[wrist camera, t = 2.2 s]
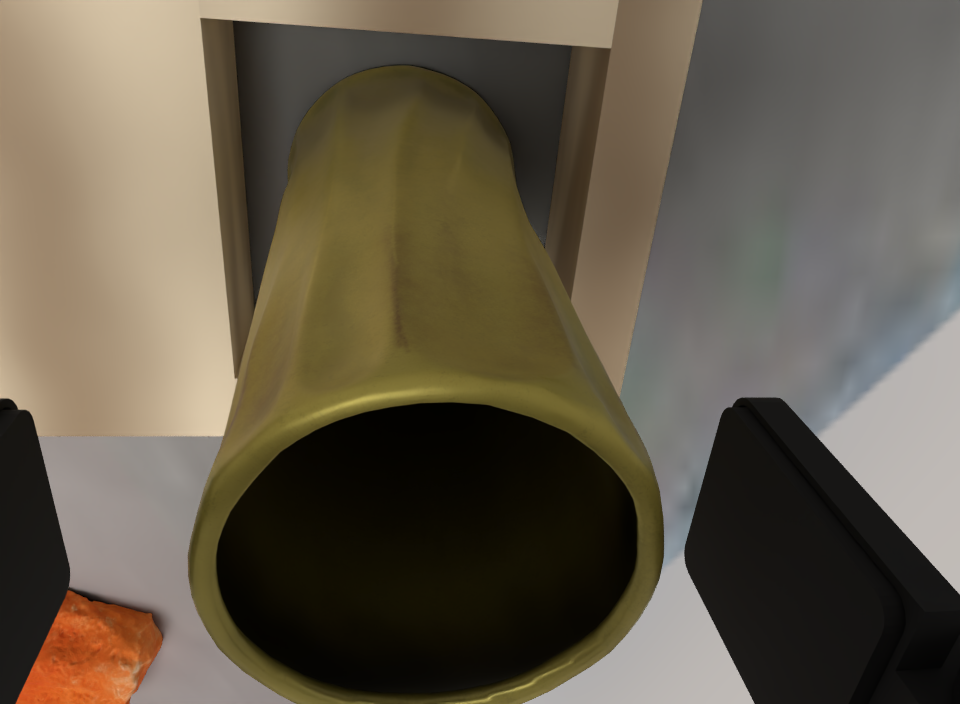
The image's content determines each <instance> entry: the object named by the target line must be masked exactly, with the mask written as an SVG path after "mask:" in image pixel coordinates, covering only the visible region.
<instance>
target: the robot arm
mask: <svg viewBox="0 0 960 704" xmlns="http://www.w3.org/2000/svg"><path fill="white" fill-rule="evenodd" d="M684 556H685V564H686V567H687V570H688V573H689V575H690V577H691V579H692V581H693V583H694V585H695V586H696V589H697V590H698V593H699V594H700V597H701V598H702V600H703V602H704V604H705V606H706V608H707V610H708V612H709V614H710V616H711V618H712V620H713V622H714V624H715V626H716V628H717V630H718V632H719V634H720V636H721V638H722V640H723V642H724V644H725V646H726V648H727V650H728V652H729V654H730V656H731V658H732V660H733V661H734V664H735V666H736V668H737V670H738V672H739V674H740V676H741V677H742V680H743V681H744V683H745V685H746V687H747V689H748V691H749V693H750V695H751V697H752V699H753V701H754V703H755V704H960V594H959V593H958V592H957V591H956V590H955V589H954V588H953V587H952V586H951V585H950V583H949V582H948V581H947V580H946V579H945V578H944V577H943V576H942V575H941V573H940V572H939V571H938V570H937V569H936V568H935V567H934V566H933V565H932V564H931V563H930V561H929V560H928V559H927V558H926V557H925V556H924V555H923V554H922V553H921V551H920V550H919V549H918V548H917V547H916V546H915V545H914V544H913V543H912V541H911V540H910V539H909V538H908V537H907V536H906V535H905V534H904V533H903V532H902V530H901V529H900V528H899V527H898V526H897V525H896V524H895V523H894V522H893V521H892V519H891V518H890V517H889V516H888V515H887V514H886V513H885V512H884V511H883V510H882V509H881V507H880V506H879V505H878V504H877V503H876V502H875V501H874V500H873V498H872V497H871V496H870V495H869V494H868V493H867V492H866V491H865V490H864V489H863V487H861V485H860V484H859V483H858V482H857V481H856V480H855V479H854V478H853V476H852V475H851V474H850V473H849V472H848V471H847V470H846V469H845V468H844V466H843V465H842V464H841V463H840V462H839V461H838V460H837V459H836V458H835V457H834V456H833V455H832V453H831V452H830V451H829V450H828V449H827V448H826V447H825V446H824V444H823V443H822V442H821V441H820V440H819V439H818V438H817V437H816V436H815V434H814V433H813V432H812V431H811V430H810V429H809V428H808V427H807V426H806V425H805V423H804V422H803V421H802V420H801V419H800V418H799V417H798V416H797V415H796V414H795V412H794V411H793V410H792V409H791V408H790V407H789V406H788V405H787V404H786V403H785V402H784V401H783V400H782V399H780V398H740V399H737V400H736V402H735V403H734V404H733V407H729V408H726V409H725V410H724V411H723V413H722V415H721V418H720V422H719V425H718V429H717V433H716V436H715V440H714V443H713V447H712V451H711V454H710V458H709V461H708V465H707V469H706V472H705V476H704V479H703V483H702V487H701V490H700V494H699V497H698V501H697V505H696V508H695V512H694V515H693V519H692V523H691V526H690V530H689V533H688V537H687V541H686V544H685V552H684ZM69 581H70V567H69V562H68V558H67V554H66V550H65V546H64V542H63V538H62V533H61V529H60V525H59V521H58V517H57V513H56V509H55V505H54V501H53V497H52V493H51V489H50V484H49V480H48V476H47V472H46V468H45V464H44V460H43V456H42V452H41V448H40V444H39V440H38V435H37V431H36V427H35V423H34V420H33V417H32V415H31V413H30V412H29V411H27V410H18V407H17V405H16V404H15V403H14V401H13V400H11V399H9V398H0V704H16V702H17V700H18V697H19V695H20V693H21V691H22V689H23V687H24V685H25V682H26V680H27V678H28V676H29V674H30V672H31V670H32V667H33V665H34V663H35V661H36V659H37V657H38V655H39V652H40V650H41V648H42V646H43V644H44V642H45V640H46V637H47V635H48V633H49V631H50V629H51V627H52V625H53V623H54V620H55V618H56V616H57V614H58V612H59V610H60V608H61V605H62V603H63V601H64V599H65V597H66V594H67V591H68V587H69Z"/></svg>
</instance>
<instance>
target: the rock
mask: <svg viewBox="0 0 960 704" xmlns="http://www.w3.org/2000/svg"><path fill="white" fill-rule="evenodd" d="M162 638H163V637H162V635H161V632H160V631H159V629H158V627H157V626H156V625H155V624H154V622H153V619H152V614H151V613H144V612H139V611H135V610H133V609H128V608H124V607H120V606H118V605H115V604H105V603H103V602H96V601H93V602H90V601H88V599H87V598H86V597H83V596H80V595H79V594H76V593H74V592H72V591H69V590H68V591H67V594H66V597H65V599H64V601H63V603H62V605H61V608H60V610H59V612H58V614H57V616H56V618H55V620H54V623H53V625H52V627H51V629H50V631H49V633H48V635H47V637H46V640H45V642H44V644H43V646H42V648H41V650H40V652H39V655H38V657H37V659H36V661H35V663H34V665H33V667H32V670H31V672H30V674H29V676H28V678H27V680H26V682H25V685H24V687H23V689H22V691H21V693H20V695H19V697H18V700H17V702H16V704H130V698H131V695H132V694H133V693H135V692H136V691H137V690H138V687H139V685H140V684H141V682H142V680H143V678H144V676H145V674H146V671H147V669H148V668H149V667H150V665H151V663H152V662H153V660H154V658H155V657H156V655H157V653H158V651H159V650H160V648H161V645H162V641H163V639H162Z"/></svg>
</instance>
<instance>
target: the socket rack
mask: <svg viewBox="0 0 960 704" xmlns="http://www.w3.org/2000/svg"><path fill="white" fill-rule="evenodd" d="M702 2H703V0H0V398H9V399H11V400H13V401H14V403H15V404H16V405H17V407H18V410H27V411H29V412H30V413H31V415H32V417H33V420H34V423H35V427H36V431H37V435H38V436H224V432H225V429H226V425H227V421H228V417H229V413H230V409H231V404H232V400H233V396H234V392H235V388H236V383H237V379H238V375H239V371H240V367H241V363H242V359H243V355H244V351H245V347H246V343H247V339H248V335H249V331H250V327H251V323H252V319H253V315H254V311H255V308H254V295H253V282H252V268H251V255H250V242H249V229H248V216H247V203H246V189H245V176H244V163H243V150H242V137H241V123H240V110H239V97H238V84H237V71H236V57H235V44H234V31H233V20H237V21H250V22H264V23H277V24H291V25H304V26H317V27H331V28H344V29H358V30H371V31H384V32H398V33H411V34H425V35H438V36H452V37H465V38H478V39H492V40H505V41H519V42H532V43H545V44H559V45H572V51H571V59H570V66H569V73H568V81H567V88H566V96H565V103H564V111H563V118H562V125H561V133H560V140H559V148H558V155H557V163H556V170H555V177H554V185H553V192H552V200H551V207H550V215H549V222H548V229H547V237H546V244H545V250H546V252H547V254H548V256H549V257H550V259H551V261H552V263H553V265H554V267H555V269H556V271H557V273H558V275H559V277H560V279H561V282H562V284H563V286H564V288H565V290H566V292H567V294H568V296H569V298H570V300H571V303H572V305H573V307H574V309H575V311H576V313H577V315H578V317H579V319H580V322H581V324H582V326H583V328H584V330H585V332H586V334H587V336H588V338H589V340H590V342H591V344H592V345H593V347H594V349H595V351H596V353H597V355H598V357H599V359H600V361H601V363H602V364H603V366H604V368H605V370H606V372H607V374H608V376H609V378H610V380H611V382H612V384H613V386H614V388H615V390H616V392H617V394H618V396H619V397H620V392H621V387H622V383H623V378H624V373H625V368H626V364H627V359H628V354H629V349H630V345H631V340H632V335H633V330H634V326H635V321H636V316H637V311H638V307H639V302H640V297H641V292H642V287H643V283H644V278H645V273H646V268H647V264H648V259H649V254H650V249H651V245H652V240H653V235H654V230H655V226H656V221H657V216H658V211H659V207H660V202H661V197H662V192H663V188H664V183H665V178H666V173H667V169H668V164H669V159H670V154H671V149H672V145H673V140H674V135H675V130H676V126H677V121H678V116H679V111H680V107H681V102H682V97H683V92H684V88H685V83H686V78H687V73H688V69H689V64H690V59H691V54H692V50H693V45H694V40H695V35H696V31H697V26H698V21H699V16H700V11H701V7H702Z"/></svg>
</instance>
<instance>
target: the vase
mask: <svg viewBox="0 0 960 704" xmlns="http://www.w3.org/2000/svg"><path fill="white" fill-rule="evenodd" d="M287 171H288V184H287V187H286V189H285V192H284V194H283V198H282V201H281V205H280V209H279V214H278V220H277V224H276V229H275V233H274V237H273V240H272V244H271V248H270V251H269V255H268V259H267V263H266V266H265V270H264V274H263V278H262V282H261V286H260V291H259V295H258V299H257V303H256V307H255V311H254V315H253V319H252V323H251V327H250V331H249V335H248V339H247V343H246V347H245V351H244V355H243V359H242V363H241V367H240V371H239V375H238V379H237V383H236V388H235V392H234V396H233V400H232V404H231V409H230V413H229V417H228V421H227V425H226V429H225V432H224V436H223V440H222V444H221V447H220V450H219V452H218V454H217V457H216V459H215V461H214V464H213V467H212V469H211V472H210V474H209V477H208V480H207V482H206V485H205V487H204V491H203V494H202V498H201V501H200V505H199V509H198V512H197V516H196V520H195V524H194V528H193V532H192V536H191V540H190V546H189V552H188V577H189V583H190V589H191V596H192V598H193V601H194V604H195V607H196V610H197V612H198V614H199V616H200V618H201V620H202V622H203V624H204V626H205V628H206V630H207V631H208V633H209V634H210V636H211V637H212V639H213V641H214V642H215V644H216V645H217V647H218V648H219V649H220V650H221V651H222V652H223V653H224V654H225V655H226V656H227V657H228V658H229V659H230V660H231V661H232V662H233V663H234V664H236V665H237V666H238V667H239V668H240V669H241V670H242V671H244V672H245V673H246V674H248V675H249V676H251V677H252V678H254V679H255V680H257V681H258V682H260V683H262V684H263V685H265V686H266V687H268V688H269V689H271V690H272V691H274V692H275V693H277V694H279V695H281V696H283V697H284V698H286V699H288V700H290V701H292V702H294V703H296V704H522V703H525V702H527V701H529V700H532V699H534V698H536V697H538V696H540V695H542V694H544V693H547V692H549V691H551V690H553V689H554V688H556V687H557V686H559V685H561V684H563V683H564V682H566V681H568V680H569V679H571V678H572V677H574V676H576V675H578V674H579V673H581V672H582V671H584V670H586V669H587V668H589V667H591V666H592V665H593V664H595V663H596V662H598V661H599V660H600V659H602V658H603V657H604V656H606V655H607V654H608V653H610V652H611V651H612V650H613V649H614V648H615V647H616V645H618V643H619V642H620V641H621V640H622V639H623V638H624V637H625V636H626V635H627V634H628V632H629V631H630V630H631V628H632V627H633V626H634V625H635V623H636V622H637V621H638V619H639V618H640V617H641V615H642V613H643V611H644V610H645V608H646V607H647V605H648V603H649V601H650V600H651V598H652V595H653V593H654V591H655V588H656V586H657V584H658V581H659V579H660V574H661V569H662V564H663V558H664V524H663V512H662V505H661V497H660V490H659V486H658V483H657V480H656V476H655V473H654V470H653V466H652V463H651V460H650V457H649V455H648V453H647V450H646V448H645V446H644V444H643V442H642V440H641V438H640V436H639V434H638V432H637V430H636V429H635V427H634V425H633V423H632V422H631V420H630V418H629V416H628V414H627V412H626V410H625V408H624V406H623V404H622V402H621V400H620V398H619V396H618V394H617V392H616V390H615V388H614V386H613V384H612V382H611V380H610V378H609V376H608V374H607V372H606V370H605V368H604V366H603V364H602V363H601V361H600V359H599V357H598V355H597V353H596V351H595V349H594V347H593V345H592V344H591V342H590V340H589V338H588V336H587V334H586V332H585V330H584V328H583V326H582V324H581V322H580V319H579V317H578V315H577V313H576V311H575V309H574V307H573V305H572V303H571V300H570V298H569V296H568V294H567V292H566V290H565V288H564V286H563V284H562V282H561V279H560V277H559V275H558V273H557V271H556V269H555V267H554V265H553V263H552V261H551V259H550V257H549V256H548V254H547V252H546V250H545V248H544V247H543V245H542V243H541V241H540V240H539V238H538V236H537V235H536V233H535V231H534V230H533V228H532V226H531V224H530V223H529V221H528V218H527V215H526V213H525V210H524V208H523V205H522V202H521V199H520V196H519V192H518V189H517V186H516V178H515V168H514V161H513V154H512V149H511V144H510V142H509V139H508V137H507V135H506V133H505V131H504V129H503V127H502V125H501V123H500V122H499V120H498V119H497V117H496V116H495V114H494V113H493V111H492V110H491V109H490V107H489V106H488V105H487V104H486V103H485V101H484V100H483V99H482V98H481V97H480V96H479V95H478V94H477V93H476V92H474V91H473V90H471V89H470V88H469V87H467V86H466V85H464V84H462V83H460V82H459V81H457V80H455V79H453V78H451V77H448V76H446V75H444V74H441V73H438V72H434V71H431V70H427V69H424V68H420V67H415V66H409V65H395V66H385V67H379V68H374V69H369V70H366V71H362V72H359V73H356V74H354V75H351V76H349V77H347V78H345V79H343V80H341V81H340V82H338V83H337V84H335V85H334V86H332V87H331V88H330V89H329V90H328V91H326V92H325V93H324V94H323V95H322V96H321V97H320V98H319V99H318V100H317V101H316V102H315V103H314V105H313V106H312V107H311V108H310V109H309V111H308V112H307V113H306V115H305V116H304V118H303V120H302V121H301V123H300V125H299V127H298V129H297V131H296V134H295V136H294V140H293V143H292V146H291V150H290V154H289V159H288V169H287Z"/></svg>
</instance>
